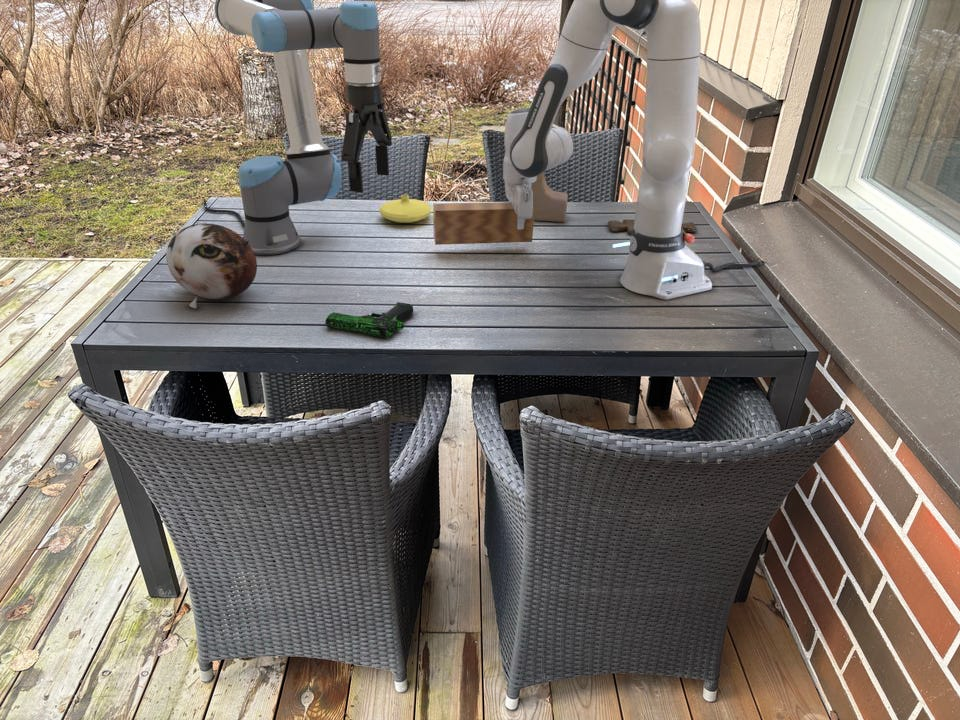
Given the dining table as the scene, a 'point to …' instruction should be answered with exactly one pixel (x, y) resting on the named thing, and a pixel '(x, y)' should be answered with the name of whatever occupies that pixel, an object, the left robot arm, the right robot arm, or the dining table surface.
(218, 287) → the cat face balloon
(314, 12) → the left robot arm
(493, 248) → the dining table surface
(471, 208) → the bar
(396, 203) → the yellow pattypan squash
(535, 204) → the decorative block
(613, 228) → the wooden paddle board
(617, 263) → the dining table surface
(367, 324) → the handgun
